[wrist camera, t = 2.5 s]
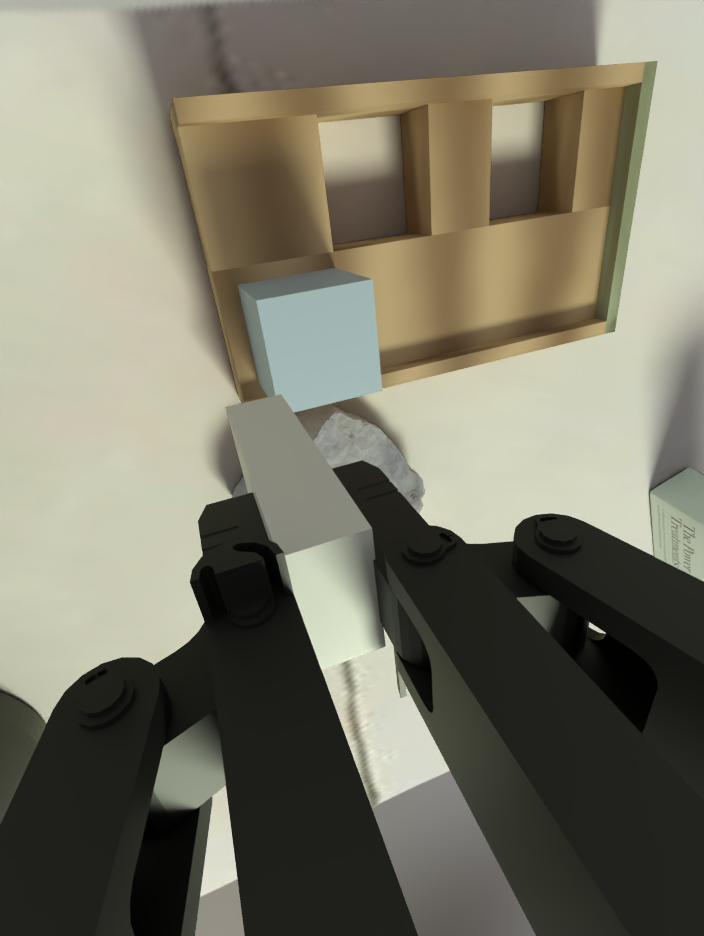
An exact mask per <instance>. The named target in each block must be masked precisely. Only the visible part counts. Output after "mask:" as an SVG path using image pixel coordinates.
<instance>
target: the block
mask: <svg viewBox="0 0 704 936" xmlns="http://www.w3.org/2000/svg"><path fill="white" fill-rule="evenodd" d="M238 290H239V294H240V299H241V303H242V308H243V312H244V317H245V321H246V326H247V331H248V335H249V340H250V344H251V349H252V353H253V358H254V362H255V367H256V371H257V376H258V381H259V384H260V385H261V387H262V389H263V390H264V392H265V393H266V395H267V397H271V396H276V395H280V394H281V395H282V396H283V398H284V399H285V401H286V402H287V403H288V405H289V406H290V408H291V409H292V411H293V412H298V411H302V410H306V409H310V408H314V407H319V406H323V405H327V404H331V403H335V402H339V401H343V400H347V399H351V398H355V397H359V396H363V395H367V394H371V393H375V392H379V391H382V380H381V369H380V357H379V346H378V334H377V323H376V311H375V299H374V288H373V279H370V278H367V277H364V276H361V275H357V274H354V273H351V272H347V271H344V270H341V269H338V268H331V269H325V270H320V271H314V272H308V273H302V274H297V275H291V276H285V277H279V278H274V279H268V280H262V281H257V282H251V283H245V284H239V285H238Z"/></svg>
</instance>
